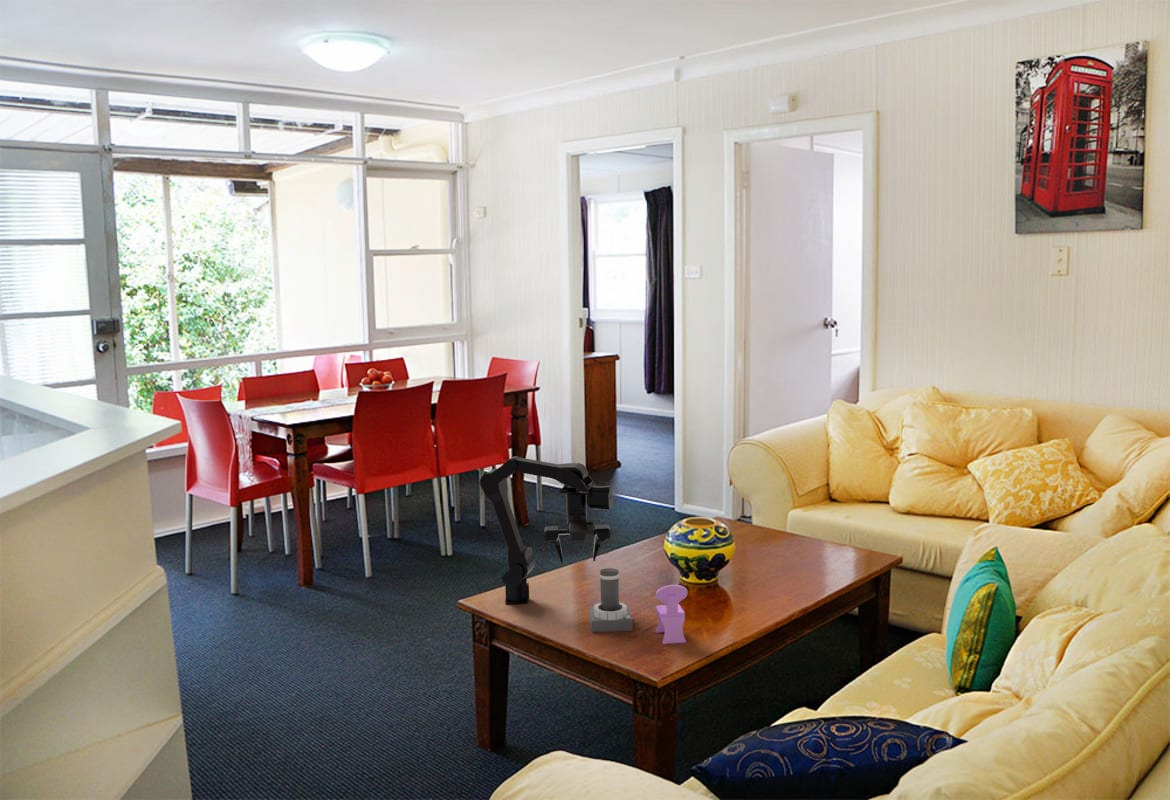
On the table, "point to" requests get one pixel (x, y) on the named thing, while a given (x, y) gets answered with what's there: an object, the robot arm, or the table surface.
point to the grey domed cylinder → (609, 589)
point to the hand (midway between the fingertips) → (577, 561)
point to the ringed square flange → (610, 619)
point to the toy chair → (671, 613)
